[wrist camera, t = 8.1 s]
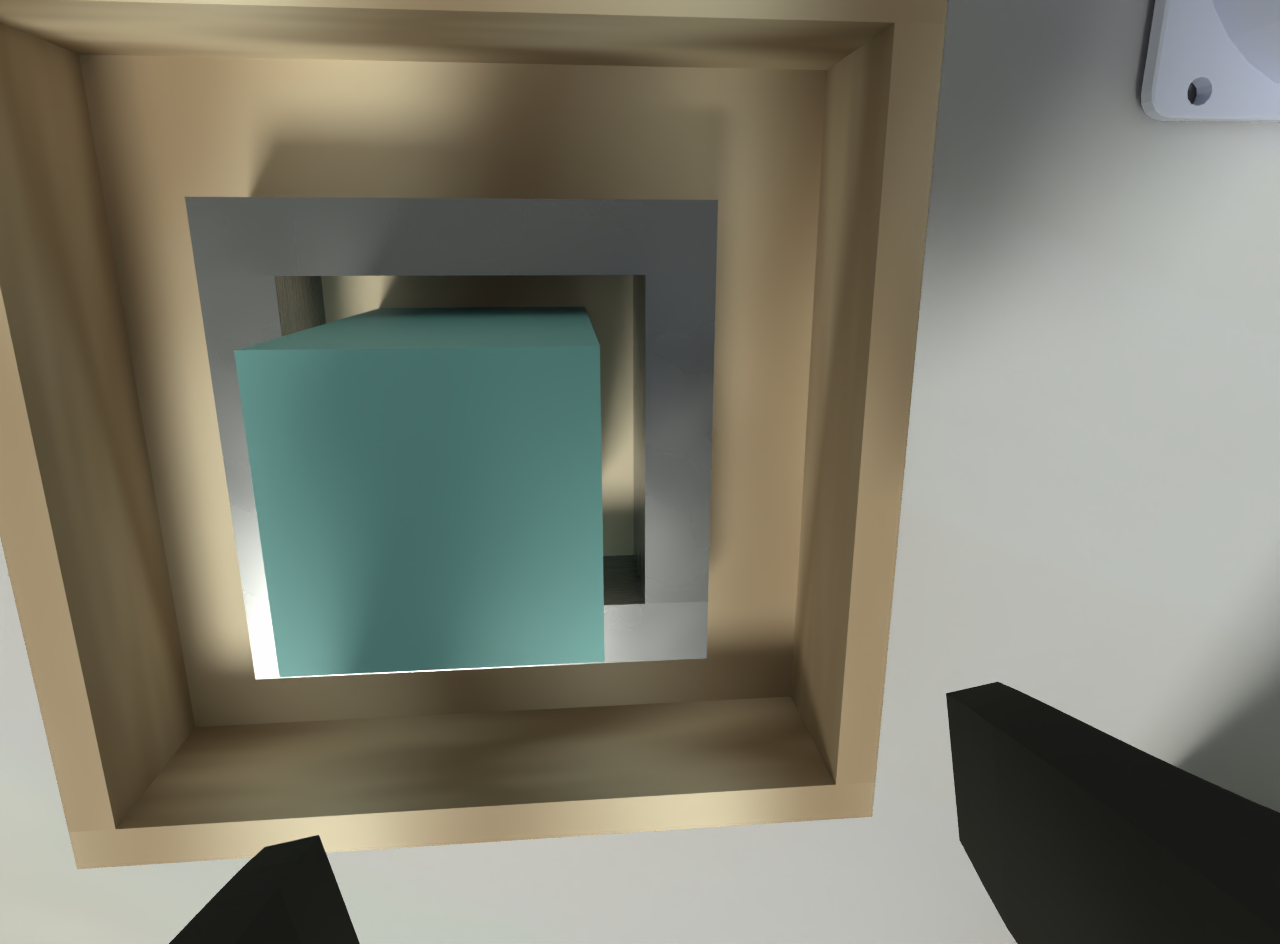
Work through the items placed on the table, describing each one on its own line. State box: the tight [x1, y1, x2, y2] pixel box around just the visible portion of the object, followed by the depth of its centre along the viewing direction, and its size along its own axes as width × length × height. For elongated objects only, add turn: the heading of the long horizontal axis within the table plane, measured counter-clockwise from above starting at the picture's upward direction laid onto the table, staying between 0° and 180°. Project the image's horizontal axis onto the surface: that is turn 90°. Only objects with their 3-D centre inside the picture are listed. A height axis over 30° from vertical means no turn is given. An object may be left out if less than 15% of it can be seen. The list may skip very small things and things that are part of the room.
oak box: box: [0, 0, 948, 869], centre depth 15 cm, size 15×15×4 cm
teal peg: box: [234, 307, 605, 677], centre depth 13 cm, size 4×4×7 cm
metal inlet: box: [185, 197, 718, 679], centre depth 15 cm, size 8×8×2 cm
